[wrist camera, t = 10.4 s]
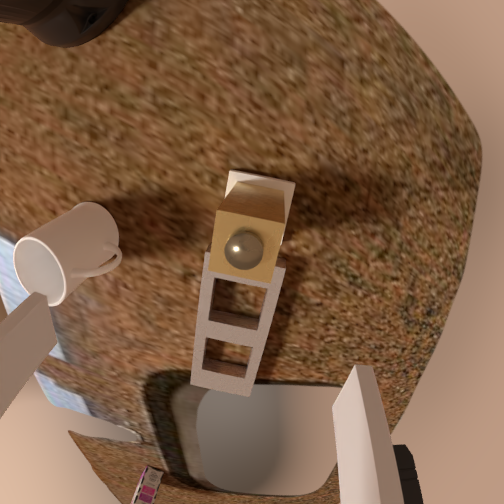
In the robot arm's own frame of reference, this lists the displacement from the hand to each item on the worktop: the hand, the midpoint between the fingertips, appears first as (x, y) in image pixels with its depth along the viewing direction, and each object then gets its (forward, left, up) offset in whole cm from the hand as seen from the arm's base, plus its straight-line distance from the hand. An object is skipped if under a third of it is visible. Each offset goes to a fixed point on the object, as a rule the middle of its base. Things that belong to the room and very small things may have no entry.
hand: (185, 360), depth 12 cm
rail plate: (+17, +1, -25) cm, 30 cm away
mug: (+8, -18, -25) cm, 32 cm away
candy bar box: (+76, -13, -25) cm, 81 cm away
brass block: (0, +1, -24) cm, 24 cm away
